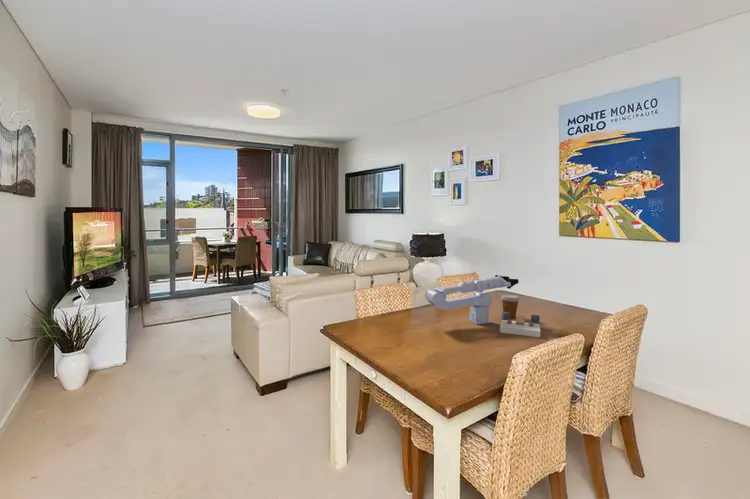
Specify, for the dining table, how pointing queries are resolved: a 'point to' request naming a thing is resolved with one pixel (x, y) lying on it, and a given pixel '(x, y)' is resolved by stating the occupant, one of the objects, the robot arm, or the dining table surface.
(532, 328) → the panel
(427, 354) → the dining table surface
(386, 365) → the dining table surface
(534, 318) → the post
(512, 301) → the disposable coffee cup
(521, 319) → the tan rectangular block
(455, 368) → the dining table surface
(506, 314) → the post
